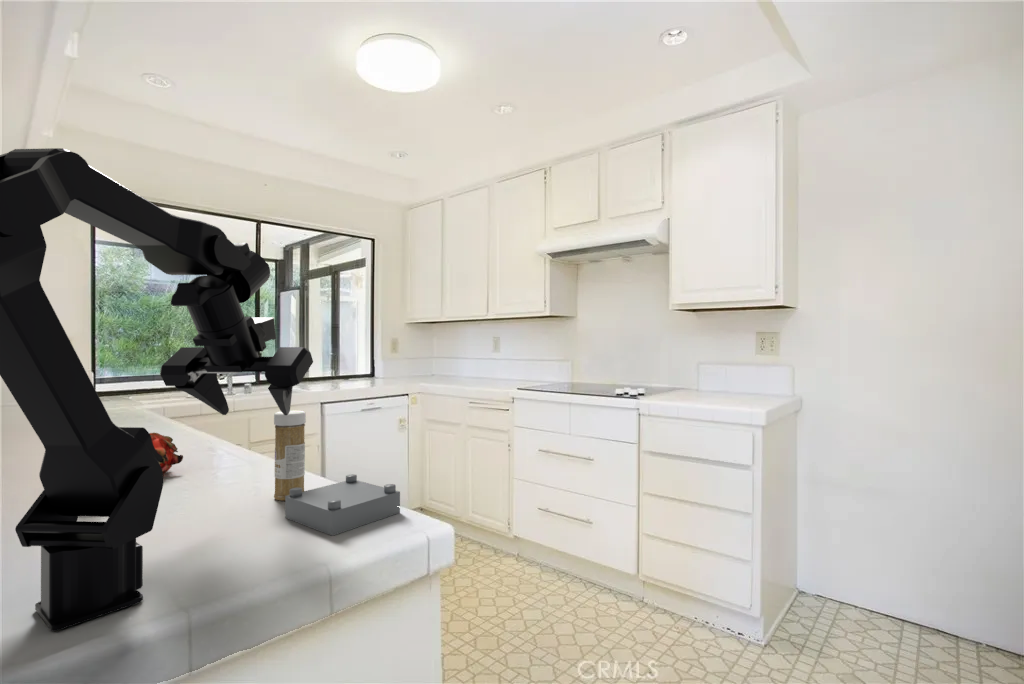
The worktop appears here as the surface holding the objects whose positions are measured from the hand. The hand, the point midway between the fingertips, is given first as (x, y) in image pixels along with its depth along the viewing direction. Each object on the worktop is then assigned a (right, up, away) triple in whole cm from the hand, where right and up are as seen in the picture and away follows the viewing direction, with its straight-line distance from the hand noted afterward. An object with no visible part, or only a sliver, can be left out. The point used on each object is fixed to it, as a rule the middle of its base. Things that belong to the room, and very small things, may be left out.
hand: (256, 413), depth 75 cm
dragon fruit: (-29, -14, +19) cm, 37 cm away
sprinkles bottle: (+2, -14, +6) cm, 15 cm away
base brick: (+14, -14, -3) cm, 20 cm away
